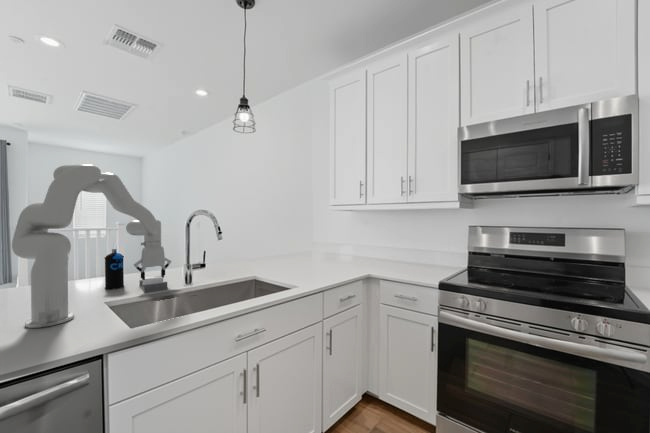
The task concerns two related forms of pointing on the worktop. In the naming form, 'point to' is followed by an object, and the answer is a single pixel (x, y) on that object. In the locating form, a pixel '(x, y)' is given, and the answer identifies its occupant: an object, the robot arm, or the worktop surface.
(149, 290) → the pin tray
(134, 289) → the worktop surface
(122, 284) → the aerosol can
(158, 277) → the white rectangular block
